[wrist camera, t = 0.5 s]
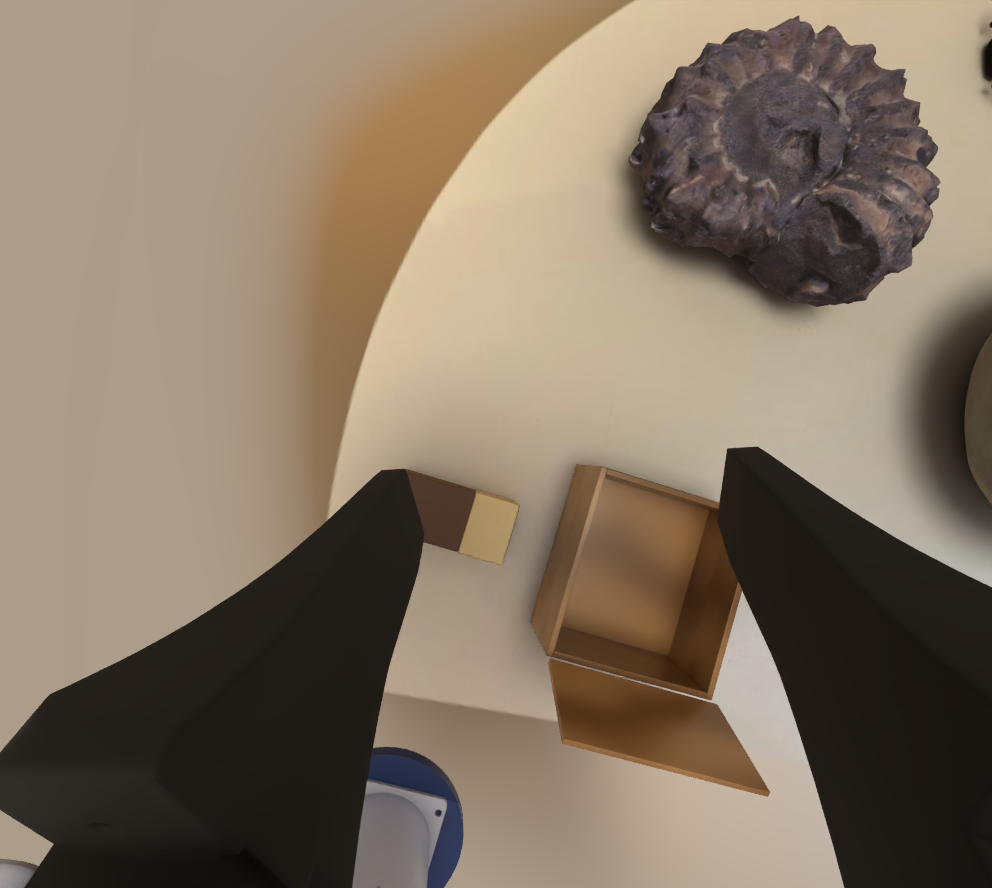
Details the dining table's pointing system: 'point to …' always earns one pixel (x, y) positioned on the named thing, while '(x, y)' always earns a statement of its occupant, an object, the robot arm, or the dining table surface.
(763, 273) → the seashell
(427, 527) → the chocolate bar
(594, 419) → the dining table surface
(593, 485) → the box
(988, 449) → the bowl
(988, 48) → the wireless earbuds
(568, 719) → the flap
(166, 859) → the robot arm
